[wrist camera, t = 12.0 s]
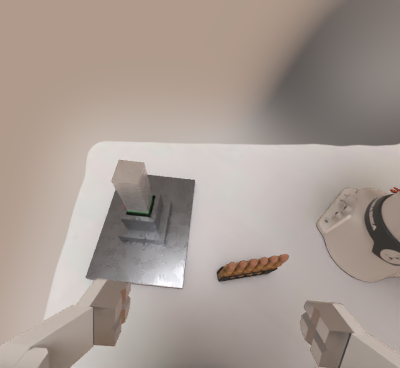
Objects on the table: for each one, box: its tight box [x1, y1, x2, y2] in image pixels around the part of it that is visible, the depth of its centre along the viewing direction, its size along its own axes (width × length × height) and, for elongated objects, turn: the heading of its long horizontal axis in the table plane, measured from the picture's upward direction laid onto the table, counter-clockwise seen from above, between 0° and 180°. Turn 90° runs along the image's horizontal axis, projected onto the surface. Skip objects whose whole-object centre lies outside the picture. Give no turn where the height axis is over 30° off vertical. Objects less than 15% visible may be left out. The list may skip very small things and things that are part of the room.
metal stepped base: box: [86, 175, 195, 289], centre depth 43 cm, size 24×18×10 cm
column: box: [112, 160, 154, 217], centre depth 36 cm, size 4×4×14 cm
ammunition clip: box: [217, 254, 289, 282], centre depth 38 cm, size 11×2×12 cm, turn 99°
